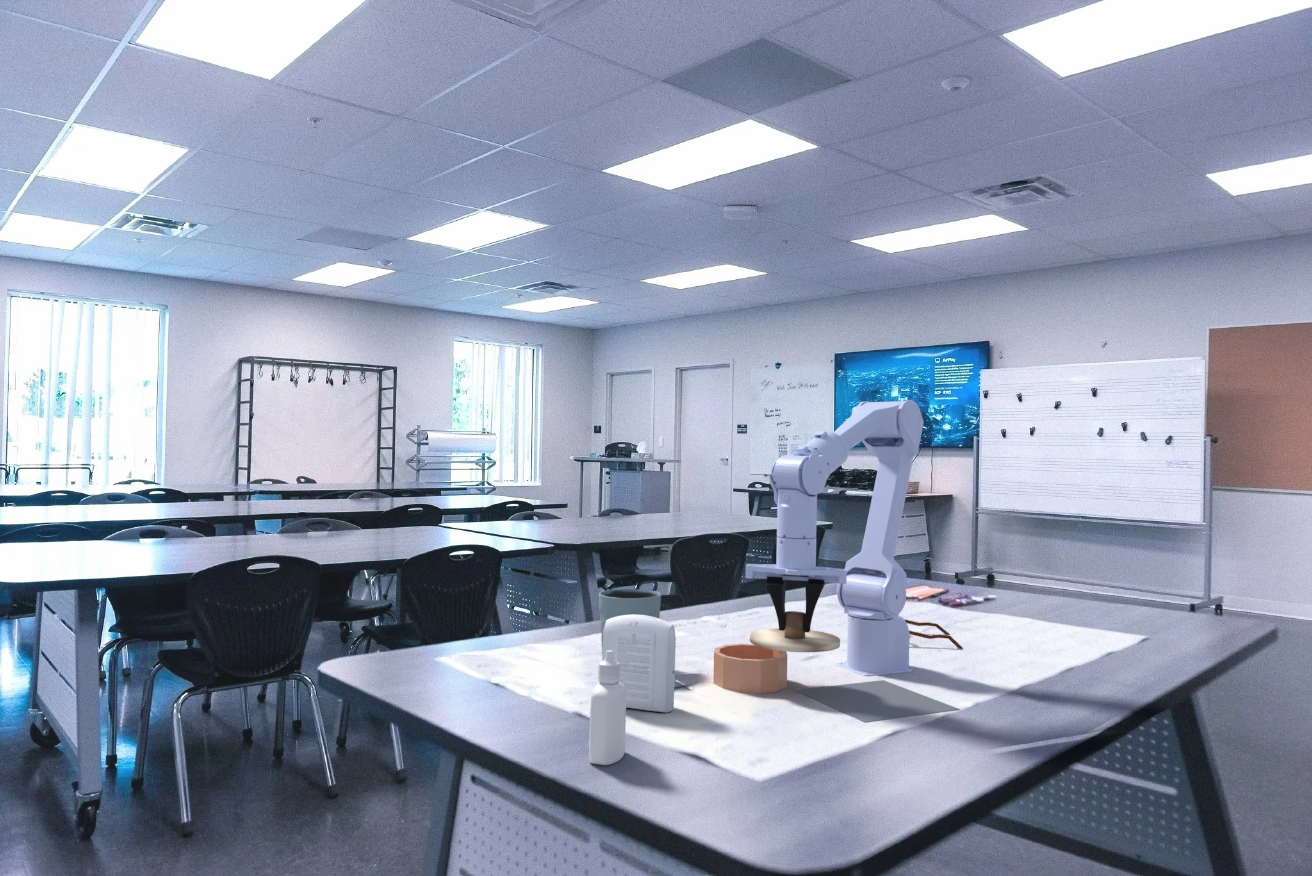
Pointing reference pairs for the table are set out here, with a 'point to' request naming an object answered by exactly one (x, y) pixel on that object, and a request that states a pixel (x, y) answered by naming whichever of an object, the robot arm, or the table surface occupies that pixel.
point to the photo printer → (643, 659)
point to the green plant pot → (627, 604)
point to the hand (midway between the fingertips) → (794, 630)
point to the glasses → (932, 635)
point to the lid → (794, 637)
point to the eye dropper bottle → (607, 714)
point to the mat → (876, 700)
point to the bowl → (750, 668)
